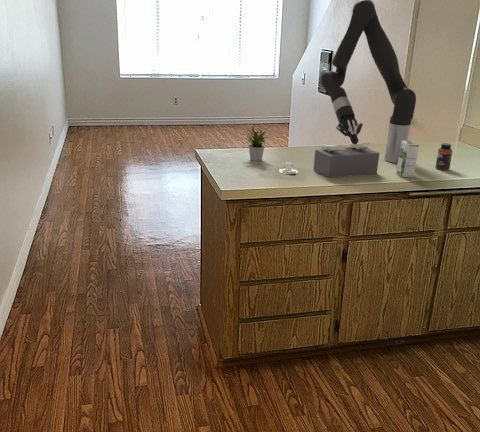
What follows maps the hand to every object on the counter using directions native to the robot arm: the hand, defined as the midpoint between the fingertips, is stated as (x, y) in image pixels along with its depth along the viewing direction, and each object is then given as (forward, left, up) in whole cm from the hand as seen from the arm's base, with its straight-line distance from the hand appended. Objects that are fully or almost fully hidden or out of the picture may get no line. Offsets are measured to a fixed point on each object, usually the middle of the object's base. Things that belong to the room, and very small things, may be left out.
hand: (355, 143), depth 226 cm
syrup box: (-15, +16, -11) cm, 25 cm away
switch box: (+7, +4, -11) cm, 14 cm away
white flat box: (0, +4, 0) cm, 4 cm away
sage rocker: (+14, +4, -1) cm, 14 cm away
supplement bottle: (-39, +12, -11) cm, 43 cm away
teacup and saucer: (+33, -2, -12) cm, 35 cm away
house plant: (+37, -25, -11) cm, 46 cm away
